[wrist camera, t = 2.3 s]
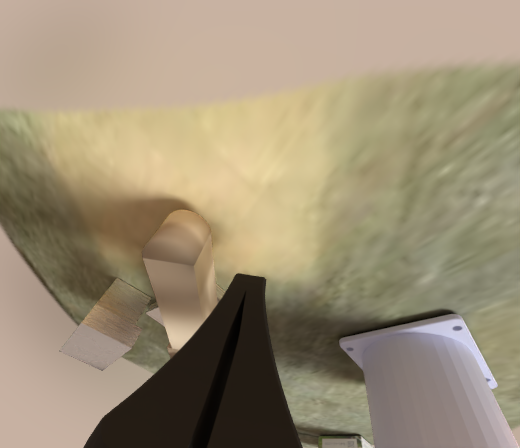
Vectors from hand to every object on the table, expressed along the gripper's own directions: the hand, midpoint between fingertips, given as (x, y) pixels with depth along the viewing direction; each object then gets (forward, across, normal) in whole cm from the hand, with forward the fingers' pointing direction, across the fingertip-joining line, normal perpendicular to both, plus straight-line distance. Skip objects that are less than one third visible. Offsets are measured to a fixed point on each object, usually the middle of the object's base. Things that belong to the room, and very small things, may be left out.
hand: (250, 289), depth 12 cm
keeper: (+4, +9, +6) cm, 12 cm away
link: (+3, +4, +4) cm, 6 cm away
